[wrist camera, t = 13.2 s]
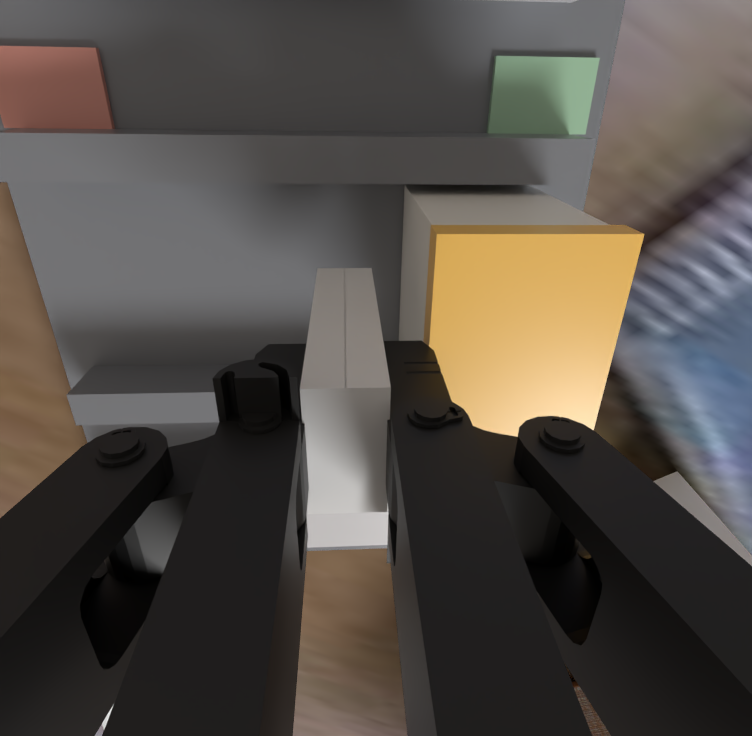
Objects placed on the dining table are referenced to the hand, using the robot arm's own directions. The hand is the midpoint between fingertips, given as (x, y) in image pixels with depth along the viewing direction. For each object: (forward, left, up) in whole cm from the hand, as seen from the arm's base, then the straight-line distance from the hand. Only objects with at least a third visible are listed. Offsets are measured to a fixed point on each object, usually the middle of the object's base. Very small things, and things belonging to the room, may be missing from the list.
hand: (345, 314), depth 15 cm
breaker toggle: (-4, 0, -3) cm, 5 cm away
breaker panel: (+1, 0, -6) cm, 6 cm away
